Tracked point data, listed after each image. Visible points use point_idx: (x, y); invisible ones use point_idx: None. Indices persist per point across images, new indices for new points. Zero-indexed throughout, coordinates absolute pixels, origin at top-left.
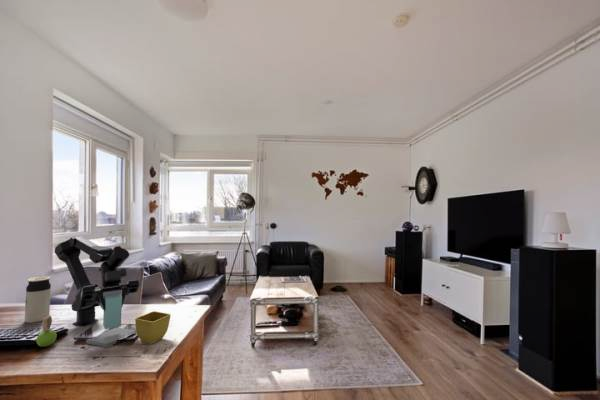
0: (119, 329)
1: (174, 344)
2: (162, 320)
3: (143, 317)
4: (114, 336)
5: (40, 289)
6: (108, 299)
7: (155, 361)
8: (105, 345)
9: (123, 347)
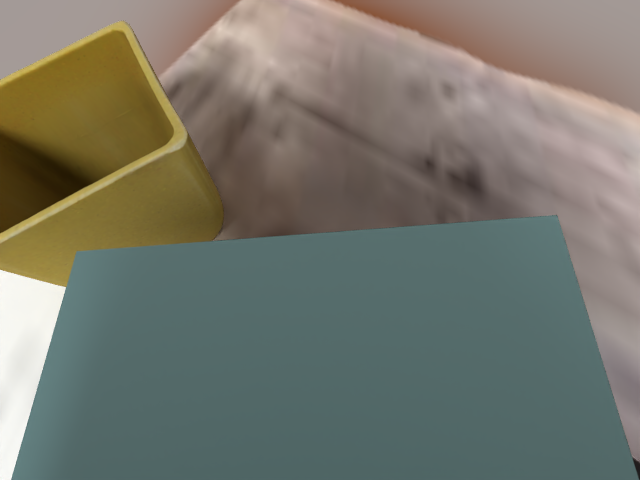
0: None
1: None
2: (48, 80)
3: (108, 190)
4: None
5: None
6: (480, 236)
7: (241, 28)
8: None
9: (320, 224)
